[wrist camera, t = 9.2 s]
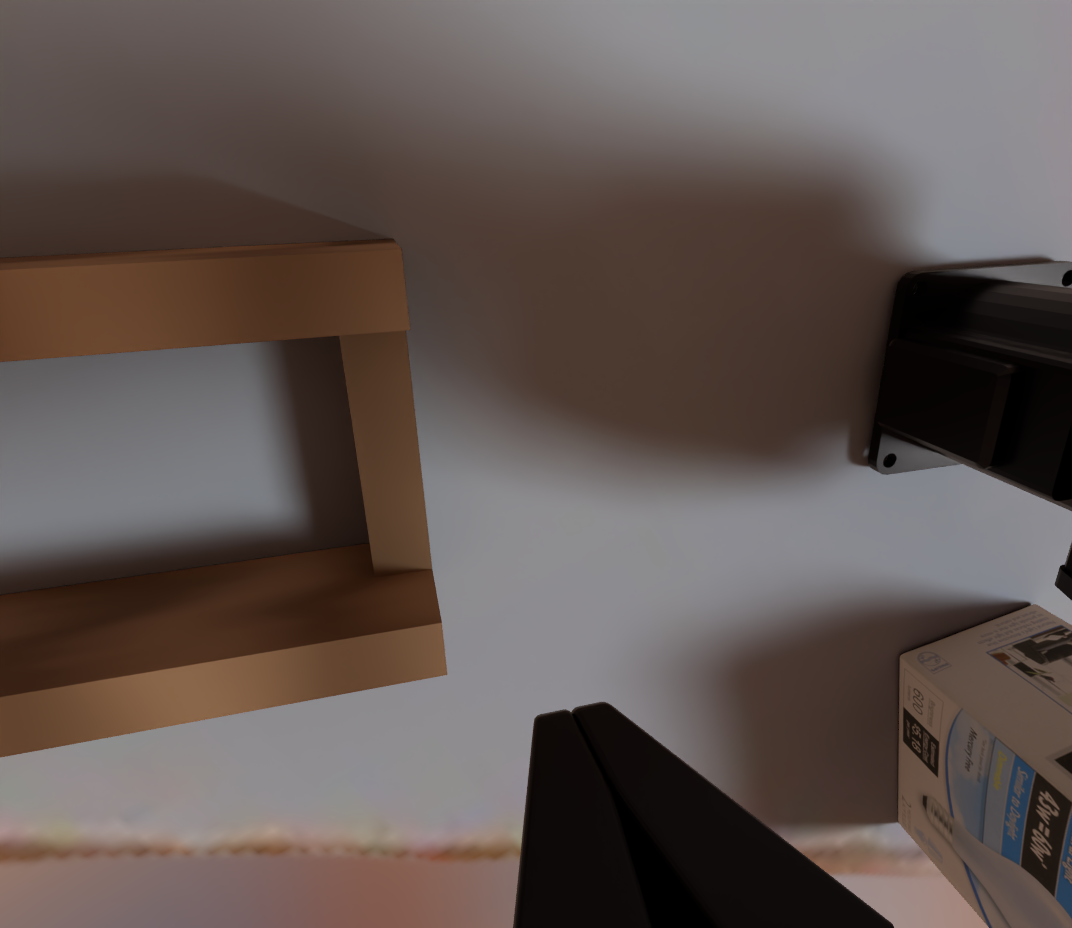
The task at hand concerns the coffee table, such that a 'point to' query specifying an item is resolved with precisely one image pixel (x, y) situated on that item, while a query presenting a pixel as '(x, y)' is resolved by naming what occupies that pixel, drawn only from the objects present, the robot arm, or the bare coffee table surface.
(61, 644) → the walnut chute
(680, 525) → the coffee table surface
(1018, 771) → the light bulb box
